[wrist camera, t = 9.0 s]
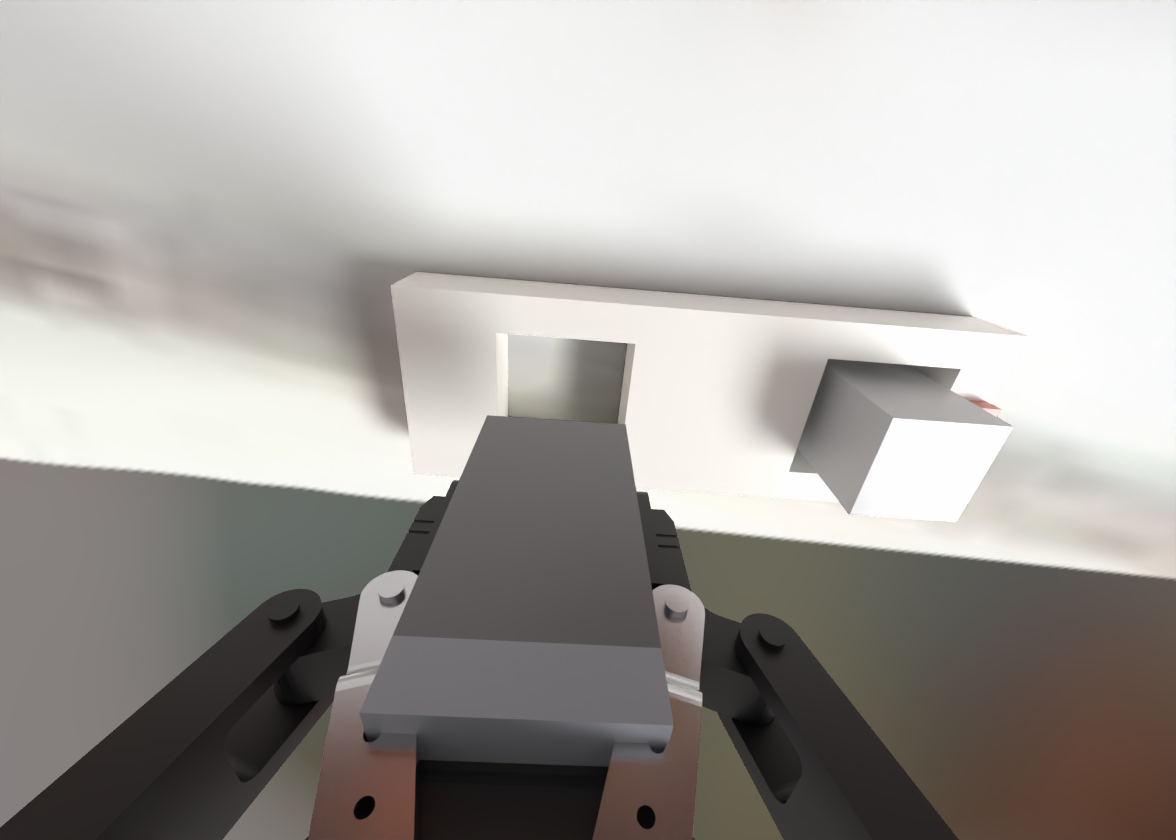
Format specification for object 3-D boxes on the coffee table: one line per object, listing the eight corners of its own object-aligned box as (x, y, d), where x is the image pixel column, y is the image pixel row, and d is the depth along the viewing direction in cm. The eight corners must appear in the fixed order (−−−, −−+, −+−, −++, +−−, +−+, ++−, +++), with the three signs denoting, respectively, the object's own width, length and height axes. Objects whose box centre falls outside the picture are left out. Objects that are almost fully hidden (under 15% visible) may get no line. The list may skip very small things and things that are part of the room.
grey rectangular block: (487, 415, 14) (359, 712, 6) (625, 424, 14) (673, 725, 6) (490, 523, 16) (397, 850, 8) (611, 530, 16) (635, 858, 8)
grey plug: (808, 351, 22) (893, 418, 16) (895, 358, 22) (1013, 426, 16) (783, 429, 24) (849, 515, 18) (863, 434, 24) (956, 522, 18)
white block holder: (416, 271, 20) (382, 289, 17) (973, 316, 21) (1046, 342, 18) (432, 442, 24) (408, 483, 21) (897, 474, 25) (943, 519, 22)
